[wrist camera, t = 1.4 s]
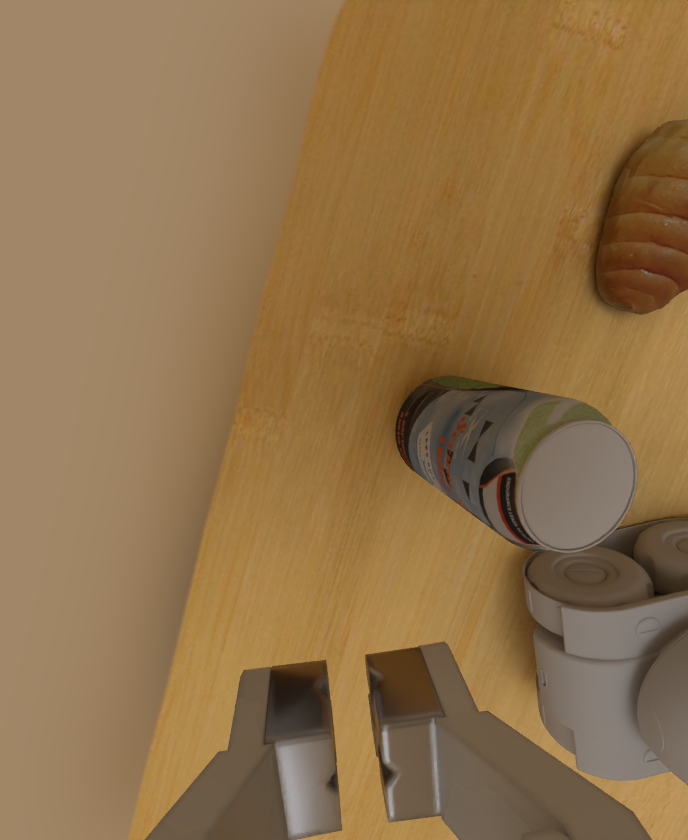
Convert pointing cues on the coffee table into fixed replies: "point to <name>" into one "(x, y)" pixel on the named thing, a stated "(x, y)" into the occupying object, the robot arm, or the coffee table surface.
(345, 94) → the coffee table surface
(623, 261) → the pastry
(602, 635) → the toy tank
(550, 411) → the beverage can
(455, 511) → the coffee table surface
